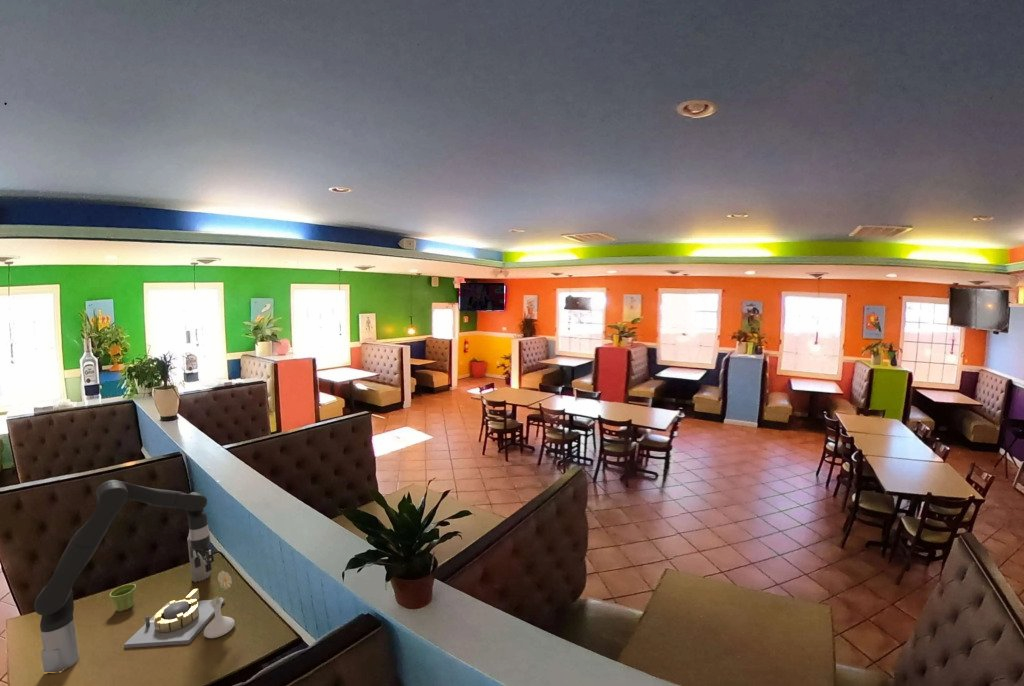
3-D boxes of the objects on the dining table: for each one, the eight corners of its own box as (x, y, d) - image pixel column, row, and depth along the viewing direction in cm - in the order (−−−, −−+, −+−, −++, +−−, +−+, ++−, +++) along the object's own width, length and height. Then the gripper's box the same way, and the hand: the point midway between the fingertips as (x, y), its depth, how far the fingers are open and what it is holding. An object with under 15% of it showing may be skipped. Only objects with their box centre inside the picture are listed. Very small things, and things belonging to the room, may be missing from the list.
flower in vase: (220, 642, 191) (214, 586, 188) (197, 639, 193) (191, 583, 191) (244, 621, 204) (239, 567, 201) (222, 618, 206) (217, 565, 203)
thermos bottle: (199, 572, 242) (194, 521, 239) (213, 572, 241) (208, 521, 238) (187, 581, 234) (182, 529, 231) (202, 582, 233) (196, 529, 230)
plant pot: (123, 615, 210) (121, 597, 209) (106, 613, 212) (104, 595, 211) (143, 601, 219) (141, 584, 218) (126, 600, 221) (124, 583, 220)
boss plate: (189, 643, 191) (187, 626, 190) (123, 648, 190) (121, 631, 189) (224, 602, 217) (223, 587, 216) (166, 605, 215) (165, 590, 215)
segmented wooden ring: (184, 630, 196) (182, 619, 195) (146, 633, 195) (144, 621, 194) (214, 597, 217) (213, 587, 217) (180, 599, 216) (179, 589, 216)
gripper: (217, 534, 211) (220, 568, 213) (199, 528, 217) (202, 561, 219) (200, 542, 204) (203, 577, 206) (181, 536, 211) (185, 569, 212)
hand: (203, 568), depth 213 cm, fingers open, 8 cm apart
